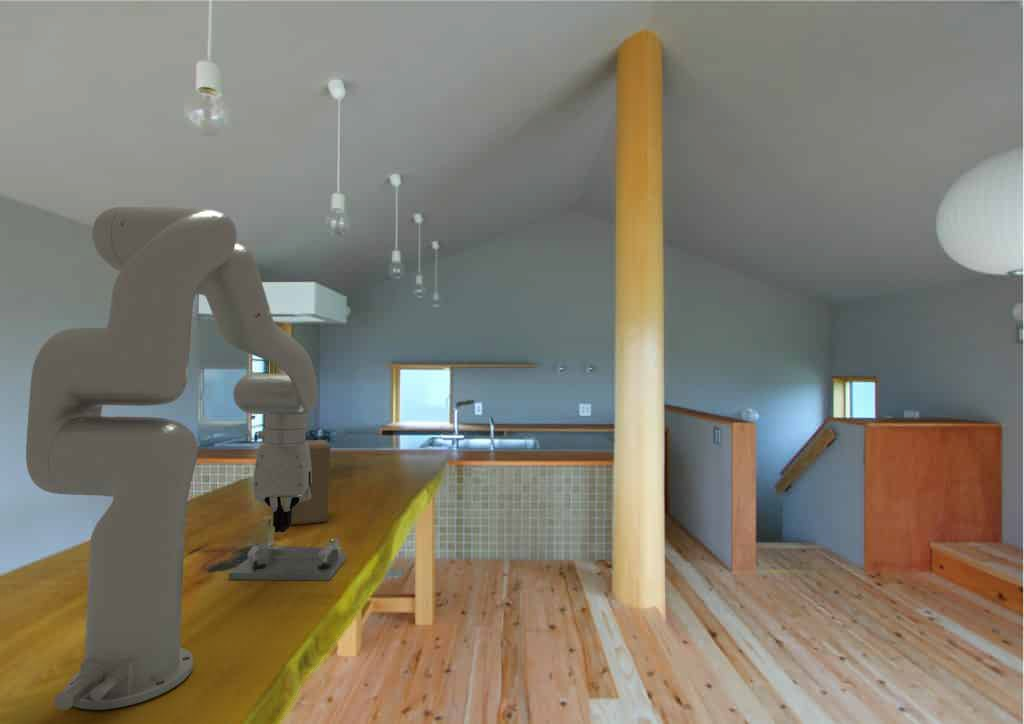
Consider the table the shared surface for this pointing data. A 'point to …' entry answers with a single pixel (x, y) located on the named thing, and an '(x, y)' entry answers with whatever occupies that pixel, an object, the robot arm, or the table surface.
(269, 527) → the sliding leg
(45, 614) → the table surface
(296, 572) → the bolt plate
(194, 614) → the table surface
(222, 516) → the table surface
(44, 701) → the table surface
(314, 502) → the wooden block
